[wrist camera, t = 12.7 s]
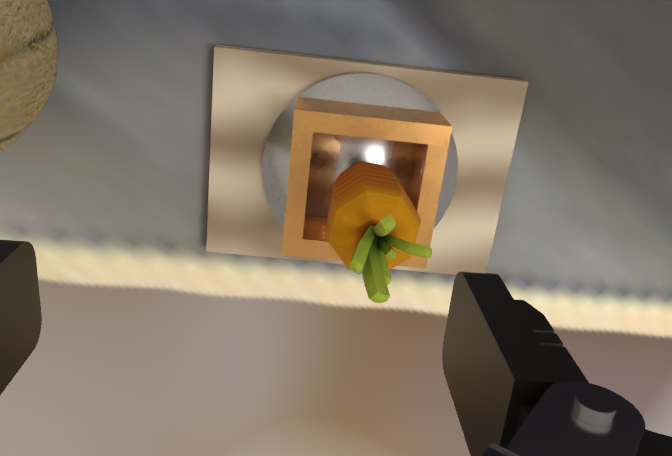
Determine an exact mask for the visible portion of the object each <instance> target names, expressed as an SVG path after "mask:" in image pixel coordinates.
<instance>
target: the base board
mask: <svg viewBox="0 0 672 456" xmlns="http://www.w3.org/2000/svg"><path fill="white" fill-rule="evenodd" d="M356 72H367V73H377V74H382V75H387V76H390V77H393V78H396V79H399V80H401V81H403V82H405V83H407V84H409V85H411V86H413V87H414V88H416V89H417V90H419V91H420V92H421V93H423V94H424V95H425V96H426V97H427V98H428V99H429V100H430V101H431V102H432V103H433V104H434V105H435V106H436V108H437V109H438V110H439V111H440V112H441V113H442V115H443V116H444V117H445V118H446V119H447V121H448V122H449V123H450V124H451V126H452V131H451V132H452V134H453V138H454V141H455V144H456V149H457V156H458V176H457V184H456V188H455V192H454V195H453V198H452V200H451V203H450V205H449V207H448V209H447V211H446V213H445V214H444V216H443V218H442V219H441V220H440V222H439V223H438V224H437V226H436V227H435V228H434V229H433V234H432V240H431V245H430V248H431V249H432V255H431V258H428V262H427V267H426V269H425V268H414V267H404V266H396V267H394V268H392V269H399V270H410V271H420V272H431V273H441V274H452V275H457V274H458V272H475V273H486V271H487V266H488V262H489V257H490V253H491V248H492V244H493V239H494V235H495V231H496V226H497V222H498V217H499V213H500V208H501V204H502V199H503V195H504V190H505V186H506V181H507V177H508V172H509V168H510V163H511V159H512V154H513V150H514V145H515V141H516V137H517V132H518V128H519V123H520V119H521V114H522V110H523V105H524V101H525V96H526V92H527V87H528V83H529V82H527V81H525V80H524V79H517V78H508V77H499V76H490V75H481V74H472V73H464V72H455V71H446V70H437V69H428V68H419V67H411V66H402V65H393V64H384V63H375V62H366V61H358V60H349V59H340V58H331V57H322V56H313V55H305V54H296V53H287V52H278V51H269V50H260V49H252V48H243V47H234V46H225V45H216V46H215V47H214V65H213V91H212V117H211V143H210V169H209V194H208V220H207V246H206V251H208V252H219V253H229V254H240V255H251V256H261V257H272V258H282V259H293V260H304V261H314V262H325V263H335V264H344V263H343V261H339V260H330V259H319V258H309V257H298V256H288V255H282V244H283V233H284V228H283V227H282V226H281V225H280V223H279V222H278V221H277V219H276V217H275V216H274V214H273V212H272V210H271V208H270V206H269V203H268V201H267V198H266V195H265V191H264V187H263V179H262V160H263V153H264V149H265V145H266V141H267V138H268V135H269V133H270V131H271V129H272V126H273V124H274V123H275V121H276V119H277V118H278V116H279V114H280V113H281V112H282V111H283V109H284V108H285V107H286V106H287V104H288V103H289V102H291V101H292V100H293V99H294V98H295V97H296V96H297V95H298V94H300V93H301V92H302V91H304V90H305V89H307V88H308V87H310V86H312V85H313V84H315V83H317V82H319V81H321V80H324V79H327V78H330V77H332V76H336V75H341V74H345V73H356Z"/></svg>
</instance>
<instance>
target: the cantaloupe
mask: <svg viewBox="0 0 672 456" xmlns="http://www.w3.org/2000/svg"><path fill="white" fill-rule="evenodd" d="M57 45H58V39H57V36H56V32H55V29H54V26H53V23H52V13H51V8H50V6H49V3H48V0H0V153H2V151H3V150H4V148H6V147H8V146H9V145H10V144H12V143H13V142H14V141H15V140H16V139H17V138H18V137H19V136H20V135H21V134H22V132H23V131H25V130H26V128H27V127H28V126H29V125H30V124H31V123H32V121H33V120H34V119H35V118H36V117H37V115H38V114H39V113H40V112H41V110H42V108H43V105H44V104H45V103H46V101H47V100H48V98H49V96H50V94H51V92H52V89H53V84H54V81H55V78H56V75H57V66H58V49H57Z"/></svg>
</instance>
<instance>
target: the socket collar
mask: <svg viewBox="0 0 672 456" xmlns="http://www.w3.org/2000/svg"><path fill="white" fill-rule="evenodd" d="M451 131H452V126H451V124H450V123H449V122H448V121H447V119H446V118H445V117H444V116H443V115H442V113H441V112H440V111H439V110H438V109H437V108H436V106H435V105H434V104H433V103H432V102H431V101H430V100H429V99H428V98H427V97H426V96H425V95H424V94H423V93H421V92H420V91H419V90H417V89H416V88H414V87H413V86H411V85H409V84H407V83H405V82H403V81H401V80H399V79H396V78H393V77H390V76H387V75H382V74H377V73H367V72H356V73H345V74H341V75H336V76H332V77H330V78H327V79H324V80H321V81H319V82H317V83H315V84H313V85H312V86H310V87H308V88H307V89H305V90H304V91H302V92H301V93H300V94H298V95H297V96H296V97H295V98H294V99H293V100H292V101H291V102H289V103H288V104H287V106H286V107H285V108H284V109H283V111H282V112H281V113H280V114H279V116H278V118H277V119H276V121H275V123H274V124H273V126H272V129H271V131H270V133H269V135H268V138H267V141H266V145H265V149H264V153H263V160H262V179H263V187H264V191H265V195H266V198H267V201H268V203H269V206H270V208H271V210H272V212H273V214H274V216H275V217H276V219H277V221H278V222H279V223H280V225H281V226H282V227H283V228H284V233H283V244H282V255H288V256H298V257H309V258H319V259H330V260H339V261H342V260H341V259H340V257H339V256H338V255H337V253H336V252H335V250H334V249H333V248H332V246H331V245H330V244H329V242H328V241H327V239H326V231H327V219H328V212H329V207H330V202H331V197H332V192H333V187H334V183H335V181H336V179H337V177H338V176H339V175H340V174H341V172H343V171H345V170H346V169H348V168H349V167H351V166H352V165H354V164H355V163H357V162H358V161H365V162H371V163H376V164H381V165H383V166H385V167H387V168H388V169H390V170H391V171H392V172H393V174H394V175H395V177H396V178H397V180H398V181H399V183H400V184H401V186H402V187H403V189H404V190H405V192H406V193H407V195H408V196H409V198H410V200H411V201H412V203H413V205H414V206H415V208H416V210H417V213H418V215H419V217H420V219H421V224H420V228H419V232H418V235H417V239H416V243H415V244H420V245H425V246H428V247H430V245H431V240H432V234H433V229H434V228H435V227H436V226H437V224H438V223H439V222H440V220H441V219H442V218H443V216H444V214H445V213H446V211H447V209H448V207H449V205H450V203H451V200H452V198H453V195H454V192H455V188H456V184H457V176H458V156H457V149H456V144H455V141H454V138H453V134H452V132H451ZM427 262H428V258H427V257H420V256H415V255H412V257H411V258H409V259H407V260H406V261H404V262H402V263H401V264H399V265H397V266H404V267H414V268H425V269H426V267H427Z"/></svg>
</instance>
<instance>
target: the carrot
mask: <svg viewBox="0 0 672 456" xmlns="http://www.w3.org/2000/svg"><path fill="white" fill-rule="evenodd" d="M420 224H421V219H420V217H419V215H418V213H417V210H416V208H415V206H414V205H413V203H412V201H411V200H410V198H409V196H408V195H407V193H406V192H405V190H404V189H403V187H402V186H401V184H400V183H399V181H398V180H397V178H396V177H395V175H394V174H393V172H392V171H391V170H390V169H388V168H387V167H385V166H383V165H381V164H376V163H371V162H365V161H358V162H357V163H355V164H354V165H352V166H351V167H349V168H348V169H346V170H345V171H343V172H341V174H340V175H339V176H338V177H337V179H336V181H335V183H334V187H333V192H332V197H331V202H330V207H329V212H328V219H327V231H326V239H327V241H328V242H329V244H330V245H331V246H332V248H333V249H334V250H335V252H336V253H337V255H338V256H339V257H340V259H341V260H342V261H343V263H344V264H345V265H346V267H347V268H348V269H352V270H353V271H354V272H356V273H358V274H360V273H361V271H362V273H363V278H364V283H365V287H366V290H367V294H368V297H369V299H370V300H372V301H374V302H377V303H382V302H385V301H387V300H388V298H389V297H390V295H389V291H388V288H387V285H388V284H389V283H390V280H391V275H390V271H389V270H391V269H392V268H394V267H396V266H397V265H399V264H401V263H402V262H404V261H406V260H407V259H409V258H411V257H412V255H415V256H420V257H427V258H431V255H432V249H431V248H430V247H428V246H425V245H420V244H415V243H416V239H417V235H418V232H419V228H420Z"/></svg>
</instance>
